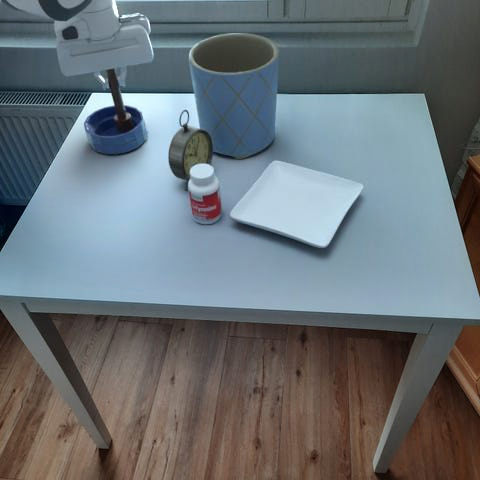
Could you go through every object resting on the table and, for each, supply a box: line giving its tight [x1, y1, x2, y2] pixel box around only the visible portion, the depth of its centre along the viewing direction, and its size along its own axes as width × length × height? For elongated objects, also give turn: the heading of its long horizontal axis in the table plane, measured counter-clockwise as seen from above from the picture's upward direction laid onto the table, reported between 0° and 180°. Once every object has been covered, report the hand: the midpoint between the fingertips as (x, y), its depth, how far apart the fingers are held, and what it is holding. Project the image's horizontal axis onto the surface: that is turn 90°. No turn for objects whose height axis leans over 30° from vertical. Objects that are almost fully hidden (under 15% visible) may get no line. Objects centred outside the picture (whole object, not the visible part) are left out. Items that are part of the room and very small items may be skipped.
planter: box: [188, 32, 280, 160], centre depth 107 cm, size 19×19×20 cm
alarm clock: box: [167, 109, 214, 192], centre depth 99 cm, size 11×5×16 cm, turn 148°
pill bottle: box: [188, 164, 223, 225], centre depth 94 cm, size 6×6×11 cm
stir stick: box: [104, 68, 133, 133], centre depth 108 cm, size 4×4×18 cm
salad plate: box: [229, 160, 364, 249], centre depth 96 cm, size 21×21×3 cm
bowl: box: [83, 104, 148, 155], centre depth 115 cm, size 14×14×5 cm
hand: (114, 87), depth 107 cm, fingers closed on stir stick, 2 cm apart
